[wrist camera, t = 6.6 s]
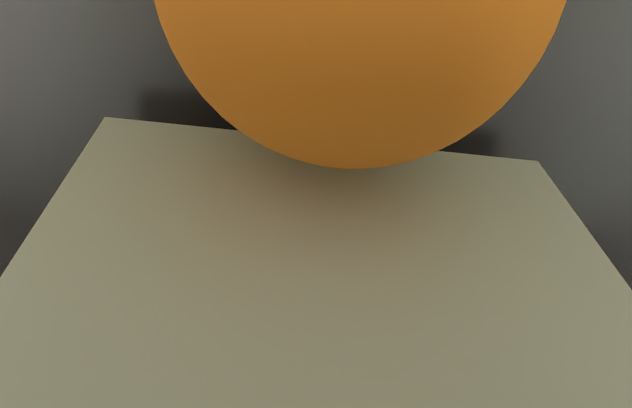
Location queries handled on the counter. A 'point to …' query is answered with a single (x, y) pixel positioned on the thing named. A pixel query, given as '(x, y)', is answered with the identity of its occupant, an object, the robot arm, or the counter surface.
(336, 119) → the ball
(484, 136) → the counter surface
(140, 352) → the sage green cuboid
